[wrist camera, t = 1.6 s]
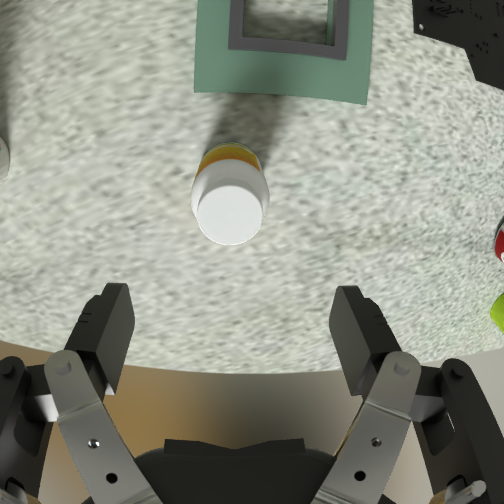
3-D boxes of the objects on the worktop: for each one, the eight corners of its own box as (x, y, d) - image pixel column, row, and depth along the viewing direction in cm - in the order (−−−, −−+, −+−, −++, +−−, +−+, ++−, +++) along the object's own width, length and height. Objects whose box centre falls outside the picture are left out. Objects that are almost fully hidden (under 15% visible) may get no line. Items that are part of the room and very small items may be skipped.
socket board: (196, 91, 23) (192, 93, 21) (206, -69, 15) (204, -81, 13) (359, 103, 24) (371, 106, 22) (366, -49, 16) (377, -58, 14)
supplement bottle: (187, 160, 26) (166, 201, 18) (242, 130, 25) (248, 156, 17) (218, 209, 29) (214, 269, 20) (271, 182, 28) (290, 232, 19)
